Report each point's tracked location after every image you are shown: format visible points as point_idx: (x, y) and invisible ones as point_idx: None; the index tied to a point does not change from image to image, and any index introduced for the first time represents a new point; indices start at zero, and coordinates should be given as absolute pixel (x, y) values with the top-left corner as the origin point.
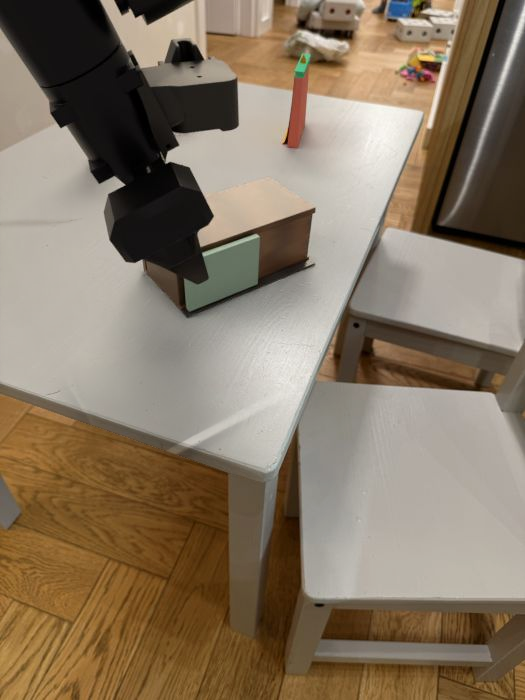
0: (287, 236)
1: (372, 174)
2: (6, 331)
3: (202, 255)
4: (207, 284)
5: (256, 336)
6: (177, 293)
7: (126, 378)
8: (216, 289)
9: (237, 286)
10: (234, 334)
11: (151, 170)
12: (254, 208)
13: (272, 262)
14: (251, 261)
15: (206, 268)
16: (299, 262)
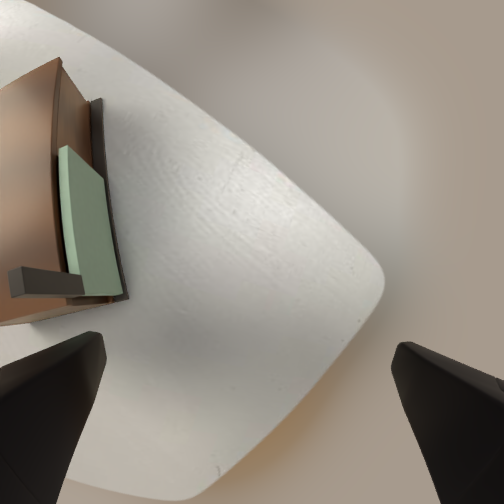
0: (68, 109)
1: (22, 22)
2: (110, 489)
3: (483, 373)
4: (101, 257)
5: (198, 216)
6: (97, 304)
7: (220, 402)
8: (105, 244)
9: (104, 209)
10: (183, 244)
11: (2, 465)
12: (13, 136)
13: (84, 146)
14: (86, 174)
15: (438, 353)
16: (90, 114)
